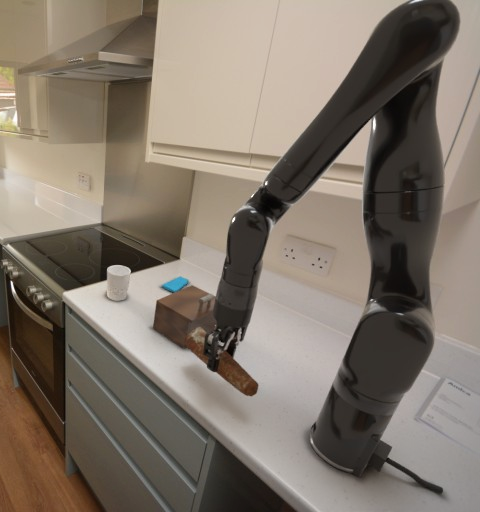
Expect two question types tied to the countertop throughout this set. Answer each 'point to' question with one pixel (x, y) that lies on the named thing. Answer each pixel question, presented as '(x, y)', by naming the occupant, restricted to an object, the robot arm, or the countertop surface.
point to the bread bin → (179, 325)
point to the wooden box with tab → (189, 303)
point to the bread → (223, 364)
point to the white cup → (117, 282)
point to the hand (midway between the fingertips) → (220, 363)
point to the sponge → (175, 284)
